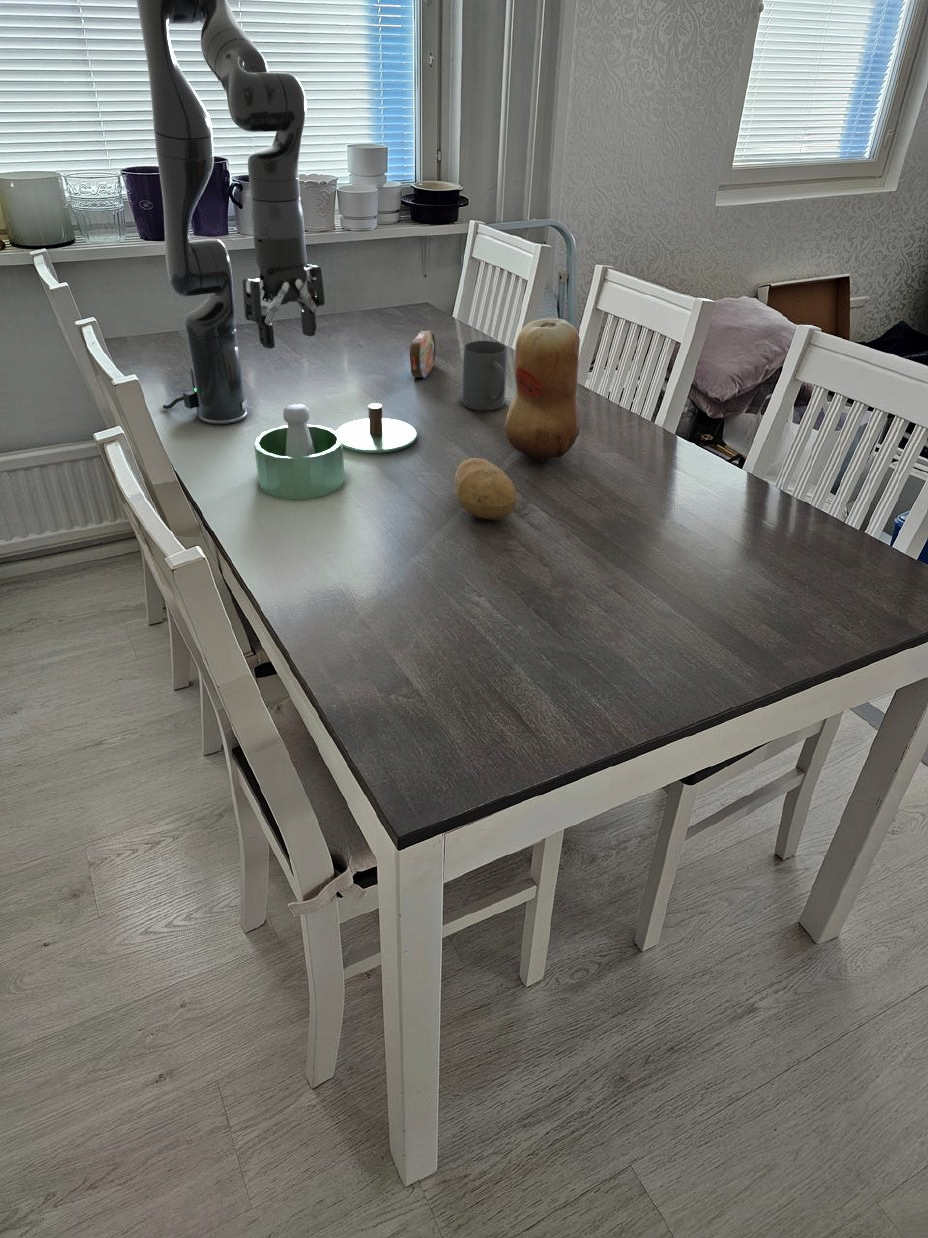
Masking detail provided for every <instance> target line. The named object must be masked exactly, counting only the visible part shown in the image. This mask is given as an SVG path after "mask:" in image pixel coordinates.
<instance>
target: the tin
mask: <svg viewBox="0 0 928 1238" xmlns="http://www.w3.org/2000/svg"><path fill="white" fill-rule="evenodd" d="M409 361H410V362H409V363H410V373H411V375H412V377H413V378H424V379H425V378H427V376H428V374H429V373H430V371H431V370H432V369H433V367H434V365H435V363H436V362H435V361H436V339H435V334H434V332H433V330H421V331H419V333H418V334H417V335H416V336H415V338H414V339H413V340H412V341H411V343H410V346H409Z"/></svg>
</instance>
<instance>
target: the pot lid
mask: <svg viewBox="0 0 928 1238" xmlns="http://www.w3.org/2000/svg"><path fill="white" fill-rule="evenodd" d="M367 407H368V408H367V409H368V418H363V419H358V420H353V421H350V422H347V423H344V424H343V425H341V426H340V427H338V428H337V429H336V430H335V431H336V432H338V433H339V435H340V436H341V438H342V446H343V448H346V449H349V450H352V451H356V452H362V453H372V454H373V453H389V452H394V451H398V450H402V449H405V448H407V447H409V446H411V445H412V444H414V443H415V441H416V440H417V435H418V433H417V430H416V429H415V427H413V426H412V425H411V424H409V423H408V422H405V421H401V420H397V419H392V418H391V419H390V418H383V405H382V404H380V403H371V404H369V405H368V406H367Z"/></svg>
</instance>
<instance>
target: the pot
mask: <svg viewBox="0 0 928 1238" xmlns="http://www.w3.org/2000/svg"><path fill="white" fill-rule="evenodd" d="M307 425H308V428H309V432H310V436H311V439H312V443H313V447H314V450H315V454H314V455H310V456H300V457H288V456H285V454H286V441H287V428H288V425H282V426H278V427H274V428H271V429H268V430H266V431H263V432H262V433H261V434H259V435H257V437H256V438H255V440H254V442H253V446H254V453H255V454H254V455H255V461H256V462H255V463H256V470H257V478H258V483H259V486H260V488H261V490H262V491H263V492H265V493H266V494H268V495H270V496H273V497H276V498H279V499H286V500H310V499H316V498H321V497H323V496H326V495H329V494H332V493H334V492H336V491H337V490H339V489H340V488H341V487H342V485H343V484H344V482H345V465H344V463H345V462H344V446H342V438H341V436H340V435H339V433H338V432H336V431H337V430H333V429H332V428H330V427H326V426H321V425H319V424H318V425H317V424H307Z"/></svg>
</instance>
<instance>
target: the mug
mask: <svg viewBox="0 0 928 1238" xmlns="http://www.w3.org/2000/svg"><path fill="white" fill-rule="evenodd" d="M507 363H508V348H507V346H506V345H505V344H503V343H501V342H498V341H491V340H476V341H475V340H474V341H470V342H467V343H466V344H464V345H463V352H462V379H461V380H462V385H461V386H462V390H461V391H462V397H461V399H462V403H463V404H462V405H464V407H466V408H467V409H471V410H473V411H481V412H482V411H483V412H485V411H494V410H498V409H500V408H502V407H503V406H504V405H505V401H506V384H507V365H508V364H507Z"/></svg>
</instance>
